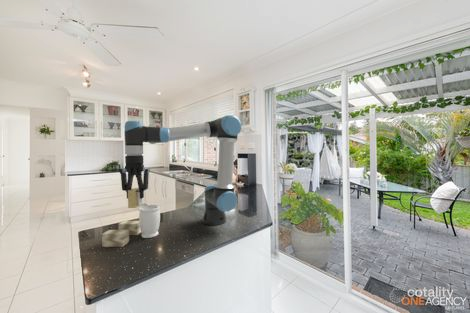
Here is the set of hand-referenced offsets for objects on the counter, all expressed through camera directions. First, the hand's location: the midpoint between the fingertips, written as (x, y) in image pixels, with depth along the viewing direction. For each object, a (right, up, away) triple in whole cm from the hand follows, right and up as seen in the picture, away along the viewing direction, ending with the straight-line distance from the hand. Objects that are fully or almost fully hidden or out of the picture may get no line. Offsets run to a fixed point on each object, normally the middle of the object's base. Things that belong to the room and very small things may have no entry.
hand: (135, 205), depth 94 cm
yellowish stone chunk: (0, 0, 0) cm, 0 cm away
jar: (+1, -19, +14) cm, 24 cm away
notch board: (-11, -19, +10) cm, 25 cm away
